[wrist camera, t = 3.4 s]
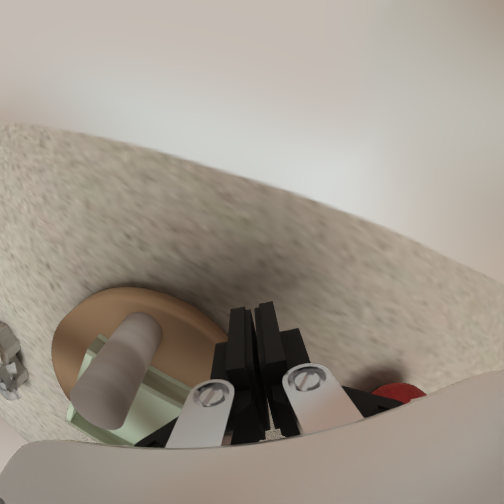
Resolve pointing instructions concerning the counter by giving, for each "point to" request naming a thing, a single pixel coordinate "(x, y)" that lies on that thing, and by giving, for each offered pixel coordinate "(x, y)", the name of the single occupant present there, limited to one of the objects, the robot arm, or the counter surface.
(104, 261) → the counter surface
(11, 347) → the egg carton
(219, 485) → the robot arm
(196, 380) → the disc
